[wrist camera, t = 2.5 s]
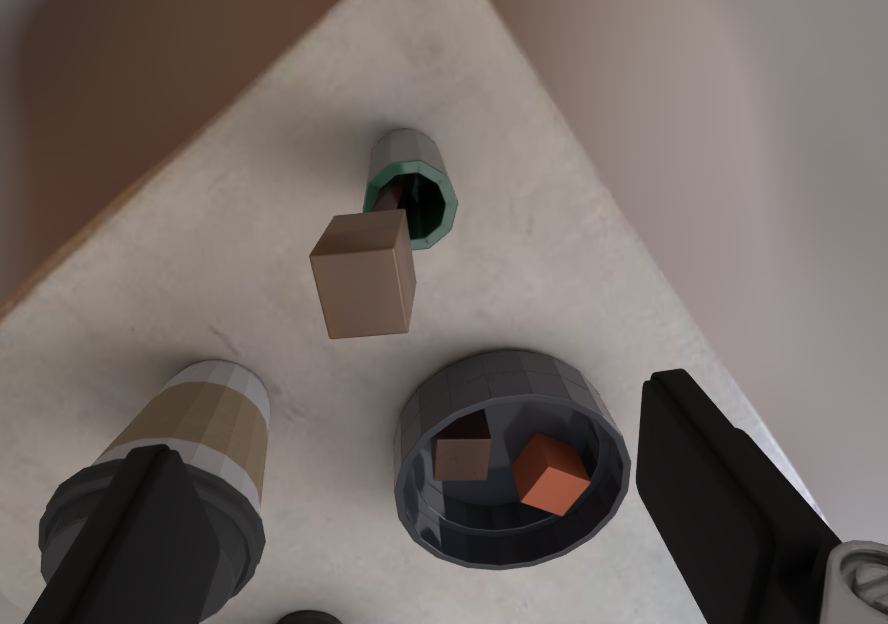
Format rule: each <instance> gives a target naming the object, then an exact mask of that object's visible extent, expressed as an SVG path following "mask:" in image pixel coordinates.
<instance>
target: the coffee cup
mask: <svg viewBox="0 0 888 624" xmlns="http://www.w3.org/2000/svg"><path fill="white" fill-rule="evenodd" d="M270 413H271V411H270V404H269V399H268V392H267V390H266V388H265V387H264V385H263V383H262V381H261V380H260V379H259V378H258V377H257V376H256V375H255V374H253V373H252V372H251V371H250V370H248V369H246V368H244V367H242V366H240V365H238V364H236V363H232V362H228V361H223V360H205V361H202V362H198V363H195V364H192V365H190V366H189V367H187V368H186V369H184V370H182V371H181V372H180V373H178V374H177V375H175V376H174V377H172V378H171V380H170V381H169V382H168V383H167V384H166V385H165V386H164V387H163V388H162V389H161V390H160V391H159V393H158V394H157V395H156V396H155V397H154V398H153V399H152V400H151V401H150V402H149V403H148V404H147V406H146V407H145V408H144V409H143V410H142V411H141V412H140V413H139V414H138V415H137V416H136V417H135V419H134V420H133V421H132V422H131V423H130V424H129V425H128V426H127V427H126V428H125V429H124V430H123V432H122V433H121V434H120V435H119V436H118V437H117V438H116V439H115V440H114V441H113V442H112V443H111V444H110V446H109V447H108V448H107V449H106V450H105V451H104V452H103V453H102V454H101V455H100V456H99V457H98V459H97V460H96V461H95V462H94V463H93V464H92V465H91V466H90V467H87V468H83V469H82V470H80V471H79V472H78V473H76V474H75V475H73V476H72V477H70V478H69V479H67V480H66V481H64V482H63V483H62V484H60V485H59V487H58V488H57V490H56V491H55V493H54V495H53V496H52V498H51V500H50V501H49V503H48V504H47V506H46V511H45V513H44V515H43V516H42V518H41V519H40V523H39V544H38V546H39V548H40V551H41V553H42V555H41V573H42V576H43V578H44V580H45V582H46V584H48V583H49V581H50V579H51V578H52V576H53V574H54V573H55V571H56V570H57V568H58V566H59V565H60V563H61V561H62V560H63V558H64V556H65V555H66V553H67V552H68V550H69V548H70V547H71V545H72V543H73V542H74V540H75V539H76V537H77V535H78V534H79V532H80V530H81V529H82V527H83V526H84V524H85V522H86V521H87V519H88V517H89V516H90V514H91V513H92V511H93V509H94V508H95V506H96V504H97V503H98V501H99V500H100V498H101V496H102V495H103V493H104V491H105V490H106V488H107V486H108V485H109V483H110V482H111V480H112V478H113V477H114V475H115V473H116V472H117V470H118V469H119V467H120V465H121V464H122V462H123V460H124V459H125V457H126V456H127V454H128V453H129V451H130V450H131V449H133V448H135V447H142V446H149V445H156V444H166V445H167V446H169V448H170V449H171V450H177V451H178V452H179V454H180V456H181V458H182V460H183V462H184V465H185V467H186V469H187V471H188V473H189V476H190V478H191V480H192V482H193V484H194V487H195V489H196V491H197V493H198V495H199V498H200V500H201V502H202V504H203V506H204V509H205V511H206V513H207V515H208V517H209V520H210V522H211V524H212V526H213V529H214V531H215V533H216V535H217V537H218V540H219V543H220V558H219V562H218V565H217V568H216V571H215V574H214V577H213V581H212V584H211V587H210V590H209V593H208V596H207V599H206V602H205V605H204V609H203V612H202V615H201V618H200V621H199V623H200V622H202V621H203V620H205V619H207V618H209V617H210V616H212V615H214V614H216V613H217V612H218V611H219V610H220V609H221V608H222V607H223V606H224V604H225V603H226V602H227V601H228V600H229V599H230V598H232V597H234V596H235V595H237V594H238V593H239V592H240V591H241V590H242V588H243V587H244V586H245V585H246V584H247V583H248V582H249V580H250V579H251V578H252V577H253V575H254V573H255V569H256V566H257V565H258V564H259V562H260V559H261V556H262V552H263V549H264V546H265V542H266V541H265V535H264V530H263V524H262V519H261V518H260V516H259V515H260V506H261V496H262V487H263V478H264V469H265V459H266V450H267V441H268V432H269V422H270Z"/></svg>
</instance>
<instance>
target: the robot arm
mask: <svg viewBox="0 0 888 624" xmlns="http://www.w3.org/2000/svg"><path fill="white" fill-rule="evenodd" d="M636 485H637V489H638V492H639V495H640V497H641V499H642V501H643V503H644V505H645V507H646V508H647V510H648V512H649V514H650V516H651V518H652V520H653V522H654V523H655V525H656V527H657V529H658V531H659V533H660V535H661V537H662V539H663V540H664V542H665V544H666V546H667V548H668V550H669V552H670V554H671V556H672V557H673V559H674V561H675V563H676V565H677V567H678V569H679V571H680V572H681V574H682V576H683V578H684V580H685V582H686V584H687V586H688V588H689V589H690V591H691V593H692V595H693V597H694V599H695V601H696V603H697V605H698V606H699V608H700V610H701V612H702V614H703V616H704V618H705V620H706V621H707V623H708V624H888V545H884V544H880V543H876V542H872V541H858V540H853V541H849V542H845V543H842V542H841V540H840V539H839V538H838V537H837V536H836V535H835V534H834V532H833V531H832V530H831V529H830V528H829V527H828V526H827V524H826V523H825V522H824V521H823V520H822V519H821V518H820V516H819V515H818V514H817V513H816V512H815V511H814V510H813V508H812V507H811V506H810V505H809V504H808V503H807V502H806V500H805V499H804V498H803V497H802V496H801V495H800V494H799V492H798V491H797V490H796V489H795V488H794V487H793V486H792V484H791V483H790V482H789V481H788V480H787V479H786V478H785V476H784V475H783V474H782V473H781V472H780V471H779V470H778V468H777V467H776V466H775V465H774V464H773V463H772V462H771V460H770V459H769V458H768V457H767V456H766V455H765V454H764V452H763V451H762V450H761V449H760V448H759V447H758V446H757V444H756V443H755V442H754V441H753V440H752V439H751V438H750V436H749V435H748V434H746V433H745V432H744V431H743V430H741V429H738V428H735V427H734V426H733V425H732V424H731V423H730V422H729V420H728V419H727V418H726V417H725V416H724V415H723V413H722V412H721V411H720V410H719V409H718V408H717V406H716V405H715V404H714V403H713V402H712V400H711V399H710V398H709V397H708V396H707V395H706V393H705V392H704V391H703V390H702V389H701V388H700V386H699V385H698V384H697V383H696V382H695V381H694V379H693V378H692V377H691V376H690V375H689V374H688V372H686V371H685V370H684V369H674V370H667V371H660V372H654V373H653V374H652V376H651V379H650V380H649V381H645V382H644V383H643V388H642V402H641V415H640V429H639V442H638V455H637V469H636ZM219 558H220V543H219V540H218V537H217V535H216V533H215V531H214V529H213V526H212V524H211V522H210V520H209V517H208V515H207V513H206V511H205V509H204V506H203V504H202V502H201V500H200V498H199V495H198V493H197V491H196V489H195V487H194V484H193V482H192V480H191V478H190V476H189V473H188V471H187V469H186V467H185V465H184V462H183V460H182V458H181V456H180V454H179V452H178V451H177V450H171V449H170V448H169V446H167V445H166V444H156V445H149V446H142V447H135V448H133V449H131V450H130V451H129V453H128V454H127V456H126V457H125V459H124V460H123V462H122V464H121V465H120V467H119V469H118V470H117V472H116V473H115V475H114V477H113V478H112V480H111V482H110V483H109V485H108V486H107V488H106V490H105V491H104V493H103V495H102V496H101V498H100V500H99V501H98V503H97V504H96V506H95V508H94V509H93V511H92V513H91V514H90V516H89V517H88V519H87V521H86V522H85V524H84V526H83V527H82V529H81V530H80V532H79V534H78V535H77V537H76V539H75V540H74V542H73V543H72V545H71V547H70V548H69V550H68V552H67V553H66V555H65V556H64V558H63V560H62V561H61V563H60V565H59V566H58V568H57V570H56V571H55V573H54V574H53V576H52V578H51V579H50V581H49V583H48V584H47V586H46V587H45V589H44V591H43V592H42V594H41V596H40V597H39V599H38V600H37V602H36V604H35V605H34V607H33V609H32V610H31V612H30V613H29V615H28V617H27V618H26V620H25V622H24V623H23V624H199V621H200V618H201V615H202V612H203V609H204V605H205V602H206V599H207V596H208V593H209V590H210V587H211V584H212V581H213V577H214V574H215V571H216V568H217V565H218V562H219Z"/></svg>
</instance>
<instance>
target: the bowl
mask: <svg viewBox="0 0 888 624" xmlns="http://www.w3.org/2000/svg"><path fill="white" fill-rule="evenodd" d="M481 409H485V413H486V417H487V421H488V425H489V429H490V433H491V438H492V442H491V450H490V458H489V465H488V473H487V479H486V480H463V481H434V479H433V468H432V458H431V447H430V442H431V437H433V436H434V435H435V434H437V433H438V432H439V431H441V430H442V429H444V428H445V427H446V426H448V425H449V424H450V423H452V422H453V421H455V420H456V419H457V418H460V417H463V416H465V415H468V414H470V413H473V412H476V411H478V410H481ZM536 432H538V433H541V434H543V435H546V436H548V437H551V438H553V439H556V440H559V441H561V442H564V443H566V444H569V445H571V446H574V447H576V449H577V451H578V454H579V456H580V458H581V461H582V463H583V465H584V467H585V470H586V472H587V474H588V477H589V479H590V481H591V483H590V484H589V485H588V487H587V488H586V489H585V490H584V491H583V493H582V494H581V495H580V496H579V497H578V498H577V500H576V501H575V502H574V503H573V504H572V505H571V507H570V508H569V509H568V510H567V511H566V513H565V514H564V515H563V516H560V515H557V514H554V513H551V512H548V511H545V510H542V509H540V508H537V507H534V506H531V505H528V504H525V503H522V502H521V501H520V498H519V494H518V490H517V487H516V483H515V479H514V476H513V472H512V468H511V465H512V463H513V462H514V461H515V459H516V458H517V457H518V455H519V454H520V453H521V451H522V450H523V449H524V447H525V446H526V445H527V443H528V442H529V441H530V439H531V438H532V437H533V435H534V434H535V433H536ZM630 469H631V460H630V457H629V454H628V451H627V448H626V445H625V442H624V439H623V436H622V434H621V433H620V431H619V429H618V427H617V425H616V424H615V422H614V420H613V418H612V417H611V415H610V413H609V411H608V409H607V408H606V406H605V404H604V402H603V401H602V399H601V397H600V395H599V393H598V392H597V390H596V389H595V388H594V387H593V386H592V385H591V384H590V383H589V382H588V380H587V379H586V378H585V377H584V376H583V375H582V374H581V373H580V372H579V371H578V370H576V369H574V368H572V367H570V366H569V365H567V364H565V363H563V362H561V361H559V360H557V359H555V358H553V357H550V356H547V355H541V354H535V353H529V352H523V351H516V350H514V351H505V352H496V353H487V354H480V355H477V356H474V357H472V358H469V359H467V360H464V361H462V362H459V363H457V364H454V365H452V366H449V367H447V368H445V369H444V370H442V371H441V372H440V373H438V374H437V375H436V376H434V377H433V378H432V379H430V380H429V381H428V382H427V383H425V384H424V385H423V386H421V387H420V388H419V389H418V390H417V391H416V393H415V394H414V395H413V397H412V398H411V400H410V401H409V403H408V404H407V406H406V407H405V408H404V410H403V411H402V413H401V415H400V418H399V422H398V426H397V430H396V434H395V438H394V494H395V500H396V506H397V512H398V518H399V520H400V521H401V523H402V524H403V526H404V527H405V529H406V530H407V532H408V533H409V535H410V536H411V538H412V539H413V541H414V542H416V543H417V544H418V545H420V546H421V547H423V548H424V549H425V550H427V551H428V552H430V553H431V554H432V555H434V556H435V557H437V558H439V559H442V560H445V561H448V562H451V563H454V564H457V565H460V566H463V567H467V568H476V569H487V570H507V569H515V568H523V567H530V566H535V565H538V564H541V563H544V562H546V561H549V560H552V559H555V558H558V557H561V556H564V555H566V554H567V553H569V552H571V551H572V550H574V549H576V548H577V547H579V546H580V545H582V544H584V543H585V542H587V541H589V540H590V539H592V538H593V537H594V536H595V535H596V534H597V533H598V532H599V531H600V530H601V529H602V528H603V527H604V526H605V525H606V524H607V523H608V522H609V521H610V520H611V519H612V518H613V517H614V516H615V514H616V513H617V511H618V509H619V507H620V505H621V503H622V501H623V499H624V497H625V495H626V494H627V492H628V487H629V478H630Z"/></svg>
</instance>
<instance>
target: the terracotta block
mask: <svg viewBox="0 0 888 624" xmlns="http://www.w3.org/2000/svg"><path fill="white" fill-rule="evenodd" d="M511 468H512V472H513V476H514V479H515V483H516V487H517V490H518V494H519V498H520V501H521V502H522V503H525V504H528V505H531V506H534V507H537V508H540V509H542V510H545V511H548V512H551V513H554V514H557V515H560V516H563V515H564V514H565V513H566V511H567V510H568V509H569V508H570V507H571V505H572V504H573V503H574V502H575V501H576V500H577V498H578V497H579V496H580V495H581V494H582V493H583V491H584V490H585V489H586V488H587V487H588V485H589V484H590V483H591V481H590V479H589V477H588V474H587V472H586V470H585V467H584V465H583V463H582V461H581V458H580V456H579V454H578V451H577V449H576V447H574V446H571V445H569V444H566V443H564V442H561V441H559V440H556V439H553V438H551V437H548V436H546V435H543V434H541V433H538V432H536V433H535V434H534V435H533V437H532V438H531V439H530V441H529V442H528V443H527V445H526V446H525V447H524V449H523V450H522V451H521V453H520V454H519V455H518V457H517V458H516V459H515V461H514V462H513V463H512V465H511Z"/></svg>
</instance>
